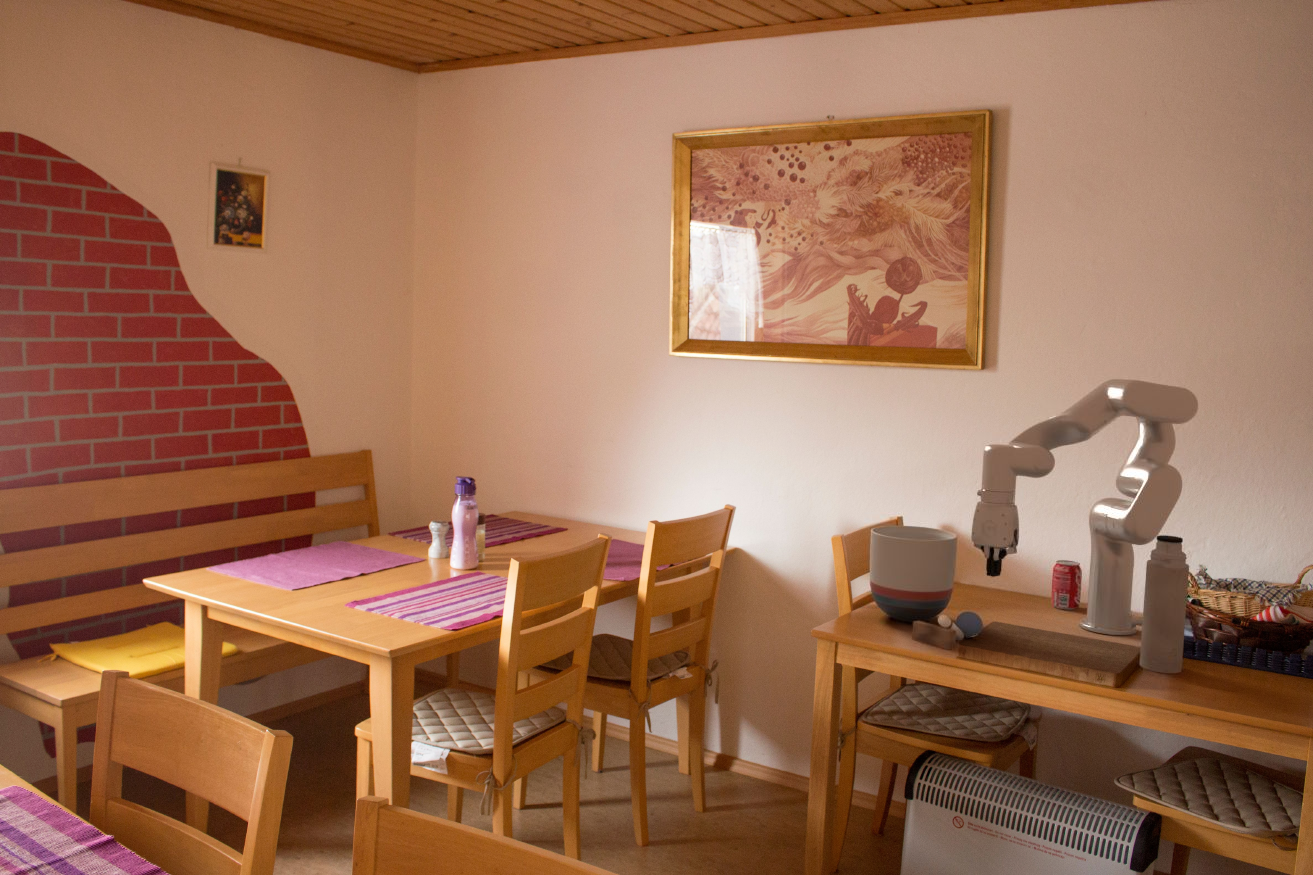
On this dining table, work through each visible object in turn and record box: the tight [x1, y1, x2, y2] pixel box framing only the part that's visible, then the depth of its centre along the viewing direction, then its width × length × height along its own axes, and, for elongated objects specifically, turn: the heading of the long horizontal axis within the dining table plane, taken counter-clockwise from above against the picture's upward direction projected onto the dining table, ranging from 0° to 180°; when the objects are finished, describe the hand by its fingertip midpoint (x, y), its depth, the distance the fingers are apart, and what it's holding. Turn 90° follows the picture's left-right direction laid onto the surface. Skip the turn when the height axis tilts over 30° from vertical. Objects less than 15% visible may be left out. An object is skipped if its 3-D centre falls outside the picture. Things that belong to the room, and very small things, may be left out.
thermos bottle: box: [1139, 534, 1190, 674], centre depth 214 cm, size 8×8×28 cm
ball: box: [954, 610, 984, 639], centre depth 234 cm, size 6×6×6 cm
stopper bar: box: [911, 621, 956, 651], centre depth 228 cm, size 10×2×4 cm, turn 39°
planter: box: [869, 525, 958, 623], centre depth 249 cm, size 20×20×21 cm
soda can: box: [1050, 559, 1083, 611], centre depth 266 cm, size 7×7×12 cm
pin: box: [937, 614, 965, 642], centre depth 229 cm, size 2×2×8 cm
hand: (993, 575), depth 239 cm, fingers closed
